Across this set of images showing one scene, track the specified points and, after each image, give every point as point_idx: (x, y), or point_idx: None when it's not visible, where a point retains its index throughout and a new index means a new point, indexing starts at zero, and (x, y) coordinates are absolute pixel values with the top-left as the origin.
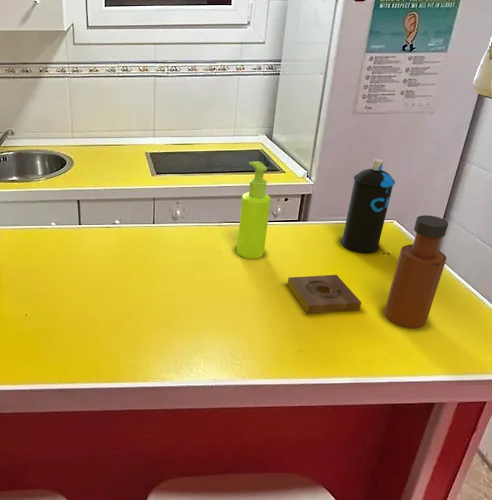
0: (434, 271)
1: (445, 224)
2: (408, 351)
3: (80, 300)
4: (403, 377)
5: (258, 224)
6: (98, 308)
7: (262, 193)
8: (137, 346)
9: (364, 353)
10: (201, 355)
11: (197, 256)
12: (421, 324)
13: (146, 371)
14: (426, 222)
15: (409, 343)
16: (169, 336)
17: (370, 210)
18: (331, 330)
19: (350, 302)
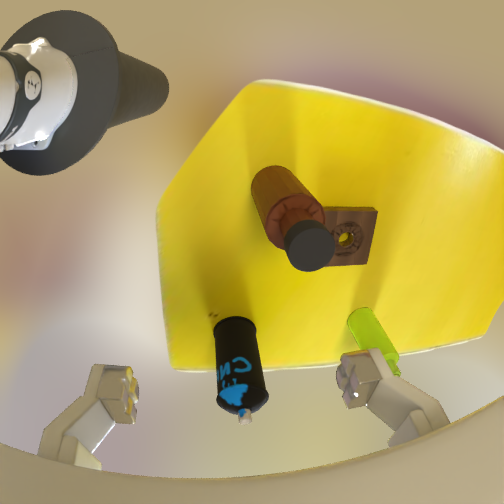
0: (293, 189)
1: (301, 236)
2: (310, 128)
3: (495, 248)
4: (340, 93)
5: (379, 334)
6: (492, 237)
7: (388, 364)
8: (492, 188)
9: (356, 135)
10: (468, 167)
11: (406, 309)
12: (269, 167)
13: (496, 160)
14: (327, 245)
15: (300, 141)
16: (475, 195)
17: (248, 358)
18: (366, 176)
19: (333, 211)
